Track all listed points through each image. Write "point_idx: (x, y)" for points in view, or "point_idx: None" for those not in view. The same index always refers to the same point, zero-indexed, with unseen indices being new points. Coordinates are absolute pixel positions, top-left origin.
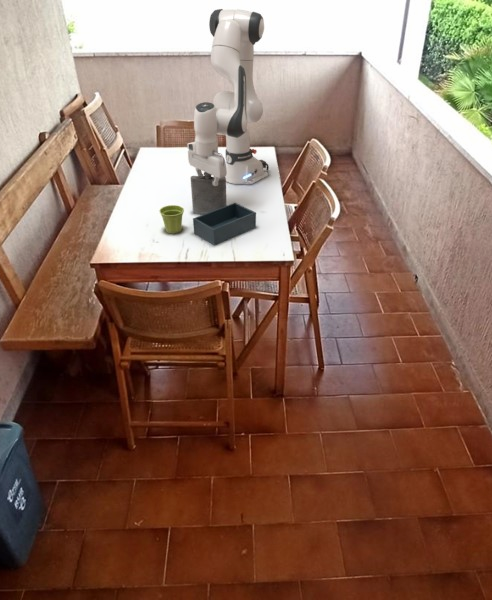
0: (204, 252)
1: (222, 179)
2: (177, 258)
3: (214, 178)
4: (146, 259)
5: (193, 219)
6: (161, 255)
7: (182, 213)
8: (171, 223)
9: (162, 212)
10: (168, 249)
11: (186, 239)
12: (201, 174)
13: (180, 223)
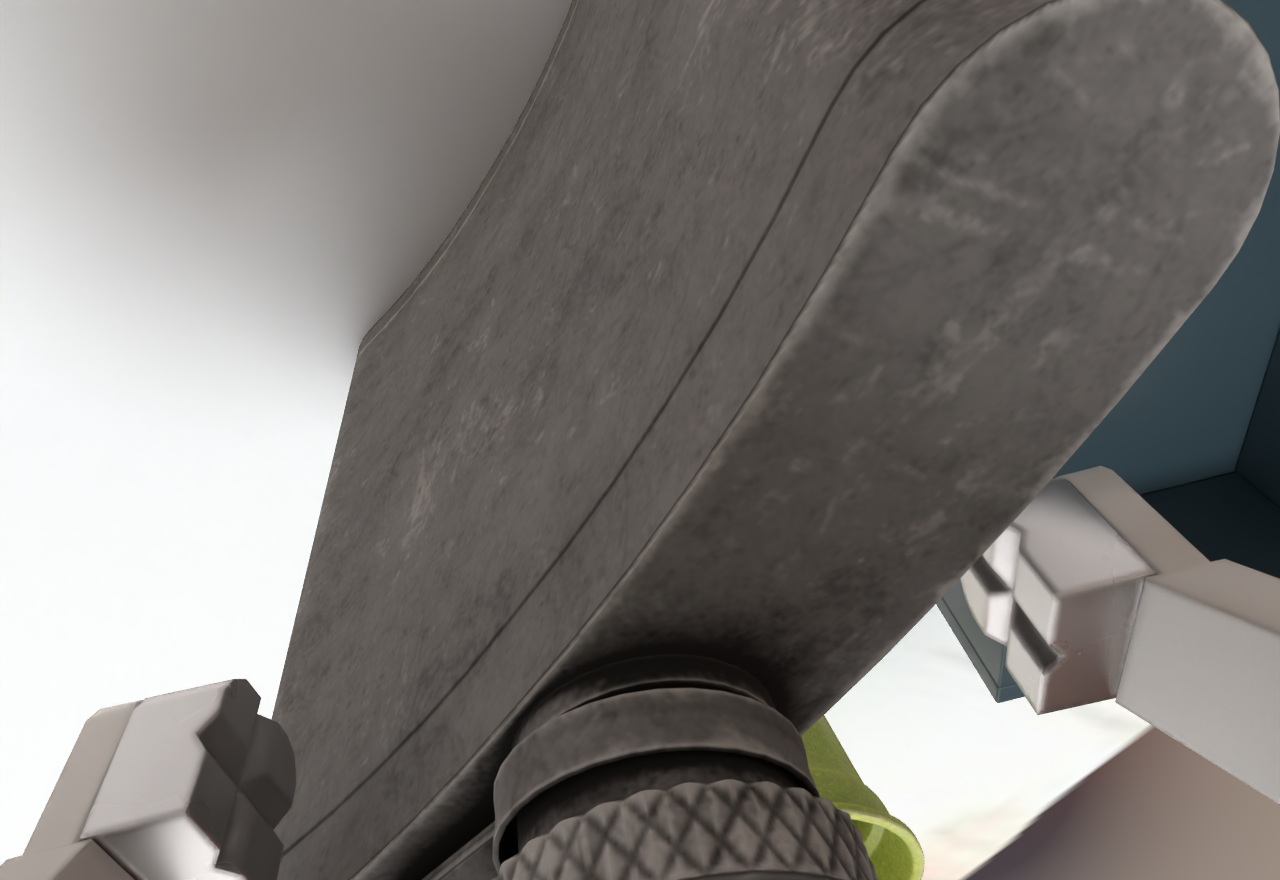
0: None
1: (1195, 292)
2: (1119, 735)
3: (856, 574)
4: (969, 860)
5: (1001, 692)
6: (1000, 798)
7: (872, 803)
8: None
9: None
10: (970, 757)
11: (945, 631)
12: (183, 864)
13: (825, 719)
